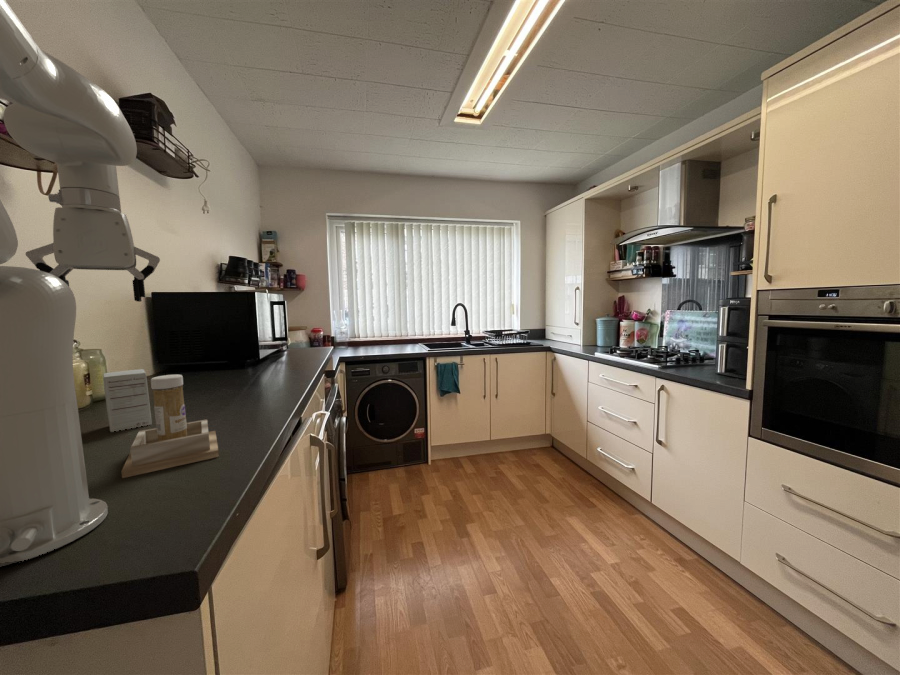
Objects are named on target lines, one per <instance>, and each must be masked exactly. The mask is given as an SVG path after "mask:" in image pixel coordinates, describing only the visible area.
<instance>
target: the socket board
mask: <svg viewBox="0 0 900 675" xmlns="http://www.w3.org/2000/svg"><path fill="white" fill-rule="evenodd" d="M208 422H209V421H208V419H202V420H196V421H189V422H186V423H187V436H185V437H180V438H175V439H169V440H164V441H158V434H157V429H156V427H154V428H153V427H152V428H147V429H143V430H139V431H138V433H137V434H136V437H135V438H134V440H133V441H132V442H133V443H132V444H131V447H130V452H129V455H128V457H127V458H126V461H125V463H124V464H123V466H122V469H121V478H122V479H126V478H130V477H134V476H140V475H143V474H148V473H151V472H156V471H160V470H161V471H162V470H165V469H170V468H174V467H178V466H183V465H187V464H188V465H189V464H192V463H196V462H201V461H206V460H210V459H214V458H218V457H220V454H219V444H218V439H217V434H216V430H212V431H209V424H208Z"/></svg>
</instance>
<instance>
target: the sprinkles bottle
mask: <svg viewBox="0 0 900 675" xmlns="http://www.w3.org/2000/svg"><path fill="white" fill-rule="evenodd" d="M183 385H184V377H183V374H166V375H165V374H164V375H158V376H155V377H152V378H151V379H150V387H151V389H152V393H153V404H154V405H153V409H154V416H155V428H156V429H157V434H158V441H164V440H169V439H175V438H180V437H185V436H187V423H188V422H187V417H186V416H187V415H186V404H185V400H184V399H185V398H184V390H183V388H184V386H183Z"/></svg>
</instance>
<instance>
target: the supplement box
mask: <svg viewBox="0 0 900 675" xmlns="http://www.w3.org/2000/svg"><path fill="white" fill-rule="evenodd" d="M102 377H103V387H104V394H105V395H104V397H105V398H104V399H105V406H106V412H107V417H108V418H107V419H108V424H109V425H108V426H109V431H110V432H109V433H115V432H114V431H116V432H120V431H119V430H121V431H125V429H127V430H132V429H137V428H136V427H138V428H142V427H141V426H143V427H146V426H147V425H148V426H151V425H152V413H151V405H150V396H149V387H148V386H149V385H148V379H147V372H146V370H145V369H144V368H138V369H131V370H129V369H128V370H120V371H112V372H111V371H110V372H104V373H103V375H102ZM131 428H132V429H131Z"/></svg>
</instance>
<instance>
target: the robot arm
mask: <svg viewBox="0 0 900 675" xmlns="http://www.w3.org/2000/svg"><path fill="white" fill-rule="evenodd" d="M0 99H1V100H5V101H7V102H10V103H11V104H9V105H7V106H6V108H4V112H3V114H2V116H3V118H2V119H3V124H4V126H5V129H6V131H7V133H8V134H9V135H10V137H11V138H12V139H13V141H14V142H16V144H17V145H18V146H20V147H21V149H24V150H25V151H27V152H28V153H30V154H32V155H34V156H36V157H38V158H42V159H44V160H47V161H50V162H53V163H55V164H56V168H57V175H58V177H57V178H58V184H59V189H58V192H57V193H48V195H47V197H48V201H49V202H50V203H56V204H59V205H60V207H55V209H54V212H53V213H54V214H53V225H52V229H53V230H52V236H53V237H52V238H53V242H52V243H49V244H46V245H43V246H40V247H37V248H34V249H33V248H32V249H31V250H28V251H26V252H25V256H26V257H27V258H28V260H29V262H31V263H32V264H33V265H34V267H35V268H36V269H35V268H28V267H22V266H10V265H9V266H8V265H3V264H6V263H8V262H9V261H10V260H11V259H12V258H14V256H15V255H16V253H17V250H18V246H19V241H18V236H17V232H16V230H15V229H16V228H15V226H14V223H13V222H12V219H11V217H10V215H9V214H8V212H7V209H6V208H5V206H4V204H3V202H2V200H1V199H0V563H5V562H14V561H22V562H25V561H24V560H26V561H28V559H29V560H31V559H34V558H37V557H40V556H42V554H43V555H45V554H48V553H50V552H52V551H54V549H55V550H57V549H60V548H62V547H64V546H65V545H68V544H70V543H71V542H74V541H75V540H78V539H80V538H81V537H83V536H85V535H86V534H88V533H89V532H92V530H94V529H95V528H96V527H98V526H99V525H100V524H101V523H102V522H103V521H104V520H105V519H106V517H107V515H108V514H109V511H108V504H107V502H106V501H104V500H102V499H98V498H90V496H89V487H88V480H87V479H88V478H87V471H86V463H85V457H84V456H85V455H84V447H83V439H82V432H81V431H82V430H81V424H80V422H81V421H80V416H79V407H78V406H79V405H78V401H77V400H78V399H77V393H76V385H75V376H74V359H73V354H74V352H73V351H74V346H73V345H74V337H75V329H76V318H77V302H76V298H75V295H74V293H73V290H72V289H71V287H70V282H69V280H67V279H66V276H67V275H68V274H70V273H71V272H72V271H73V270H74V269H75V270H86V271H87V270H95V271H128V272H129V273H130V274H131V275H132V276H133V280H132V289H133V298H134V301H135V302H138V303H139V302H142V298H146V291H145V281H146V279H147V278H149V277H150V275H152V274H153V273H154V272H155V270H156V268H157V267H158V265H159V264H160V261H161V259H160V257H159V256H157V255H155V254H153V253H151V252H148V251H145V250H143V249H141V248H138V247H136V246H135V244H134V238H133V234H132V230H131V229H132V228H131V226H130V223H129V219H128V217H127V214H125V213H122V208H121V197H120V189H119V180H118V172H117V167H123V166H124V167H126V166H128V165H131V164H133V162H134V161H135V160H136V157H137V154H138V147H137V142H136V138H135V135H134V133H133V130H132V128H131V126H130V125H129V123H128V121H127V119H126V118H125V115H124V114H123V112H122V110H121V108H120V107H119V106H118V103H116V101H115V100H114V98H113V97H111V95H109V94H108V93H107V91H105V90H104V89H103V88H102V87H101V86H99V85H98V84H96V83H95V82H94V81H92V80H91V79H89V78H87V77H86V76H85V75H83V74H81V73H80V72H78V71H77V70H75V69H74V68H72V67H71V66H69V65H68V64H66V63H64V61H61V60H59V59H58V58H56V57H55V56H53V55H51V54H49V53H47V52H45V50H43V49H40V47H39V45H38V44H37V43H36V41H35V40H34V38H33V37H32V35H31V34H30V33H29V31H28V29H27V28H26V27H25V26H24V24H23V23H22V22H21V20H20V18H19V17H18V16H17V14H16V13H15V11H14V10H13V8H12V7H11V5H9V3H8V1H7V0H0ZM51 254H53V256H54V260H55V262H56V263H57V264H58V265H55V267H54V268H53V267H52V266H50V265H49V264H47V263H46V261H45V260H44V257H47V256H48V255H51ZM137 256H138V257H140V258H143V259H145V260H148V263H147V265H146V266H145V267H144V268H143V269H142V270H139V269H137V267H136V266H137ZM47 552H48V553H47ZM39 555H40V556H39Z"/></svg>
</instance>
